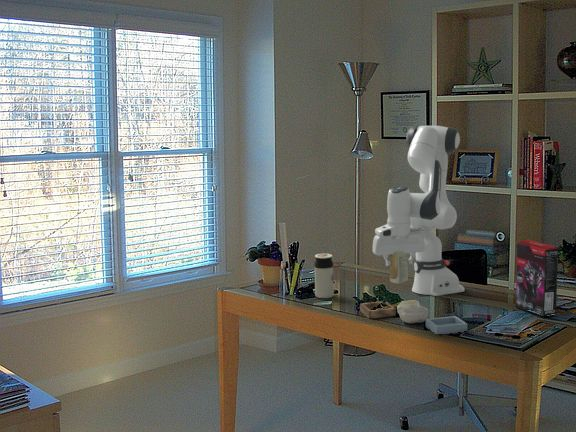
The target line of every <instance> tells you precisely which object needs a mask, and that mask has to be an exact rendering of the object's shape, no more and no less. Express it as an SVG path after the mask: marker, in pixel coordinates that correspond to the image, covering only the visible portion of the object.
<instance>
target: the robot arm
mask: <svg viewBox="0 0 576 432" xmlns="http://www.w3.org/2000/svg"><path fill="white" fill-rule="evenodd" d="M460 141H461V138H460V133H459V130H458V129H457V128H455V127H451V126H448V127H447V126H442V125H413V126H411V127H410V128H408V131H407V133H406V144H407V146H408V148H409V149H408V152H407V162H408V164H409V166H410V167H411V168H412V169H413V171H416V172H417V173H419V174H420V175H419V183H418V184H419V185H418V186H419V188H420V190H421V191H422V192H423V193H422V192H421V193H420V192H410V189H409V187H407V186H405V185H396V186H392V187H391V188H389V190H388V193H387V199H386V200H387V202H386V212H387V220H386V224H384V225H382V226H379V227H376V228H375V229H374V233H375V235H374V237H373V239H372V240H373V241H372V253H373V254H374V256H375V255H376V256H382V257H383V259H384V260H385V266H386V267H390V266H391V261H390V260H388V258H389V256H390V254H394V252H404V253H408V254H409V257H408V265H413V266H414V269H413V270H414V281H413V285H412V288H411V291H412V292H413V293H416V294H419V295H424V296H427V295H428V296H434V297H440V296H445V295H450V294H459V293H462V292H465V291H466V290H465V287H464V286H463V285H461V284H460V280H459V277H458V276H457V274H456V273H454V272H453V271H452V270H450V268H448V267H447V266H449V265H450V261H449V260H447V259H444V258H442V241H441V239H440V238H439V237H438V236H436V234H435V233H434V232H433V229H436V230H446V229H452V228H453V227H454V225H455V224H456V223H457V219H458V214H457V209H456V208H455V207H454V206H453V205H452V204H451V203H450V201H449V199H448V195H447V189H446V186H447V177H448V176H447V174H448V165H449V161H448V156H449V157H450V156H451V154H453V153H454V152H456V151H457V150H458V147H459V145H460ZM413 260H414V263H413Z"/></svg>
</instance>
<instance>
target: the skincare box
mask: <svg viewBox="0 0 576 432" xmlns="http://www.w3.org/2000/svg"><path fill="white" fill-rule="evenodd" d="M408 259H409V253H404V252H394V254H390V255H389V261H391V266H389V282H390V283H394V284H398V285H399V284H402V283H406V282H407V281H409V264H408Z"/></svg>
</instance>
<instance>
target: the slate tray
mask: <svg viewBox="0 0 576 432" xmlns="http://www.w3.org/2000/svg"><path fill="white" fill-rule="evenodd" d="M425 328H427V330H429V329H430V330H431V331H430V330H429V331H430V332H431V333H433V332H434V333H433V334H434V335H436V334H437V335H436V336H439V335H438V334H443V335H449V334H450V333H452V334H459V333H458V332H461V333H465V332H464V331H467V332H468V323H467V322H466V321H464V320H463V319H461V318H459V317H458V316H457V315H452V316H445V317H443V316H442V317H433V318H427V319H426V320H425Z"/></svg>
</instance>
